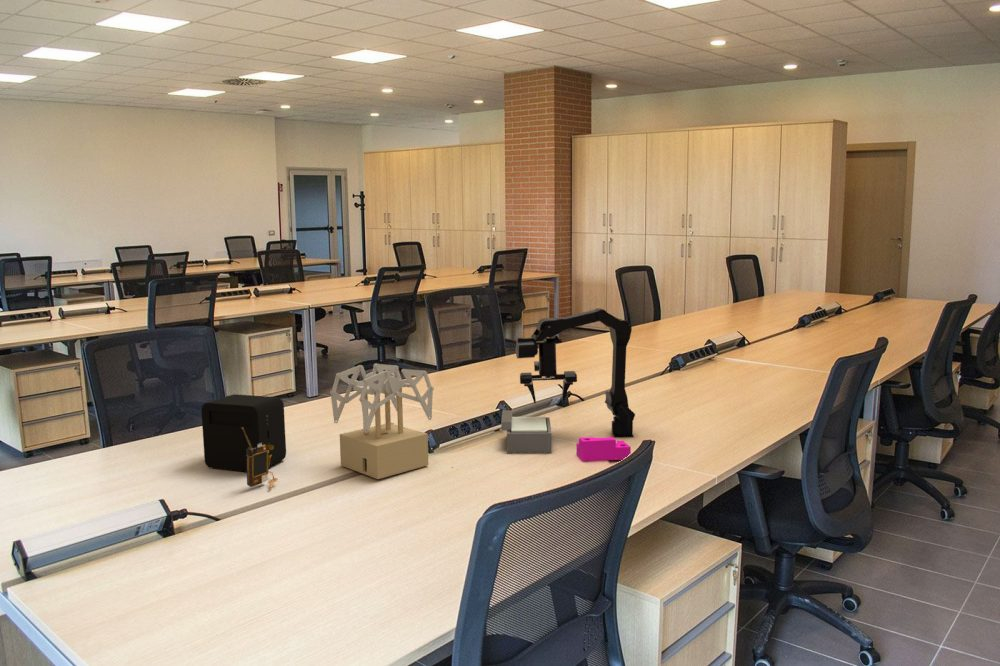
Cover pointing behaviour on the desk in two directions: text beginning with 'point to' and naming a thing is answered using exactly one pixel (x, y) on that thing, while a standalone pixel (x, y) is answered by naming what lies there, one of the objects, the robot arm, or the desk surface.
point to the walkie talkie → (258, 464)
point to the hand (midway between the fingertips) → (548, 402)
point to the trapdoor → (522, 423)
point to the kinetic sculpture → (387, 443)
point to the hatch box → (530, 441)
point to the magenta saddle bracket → (601, 449)
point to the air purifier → (229, 440)
